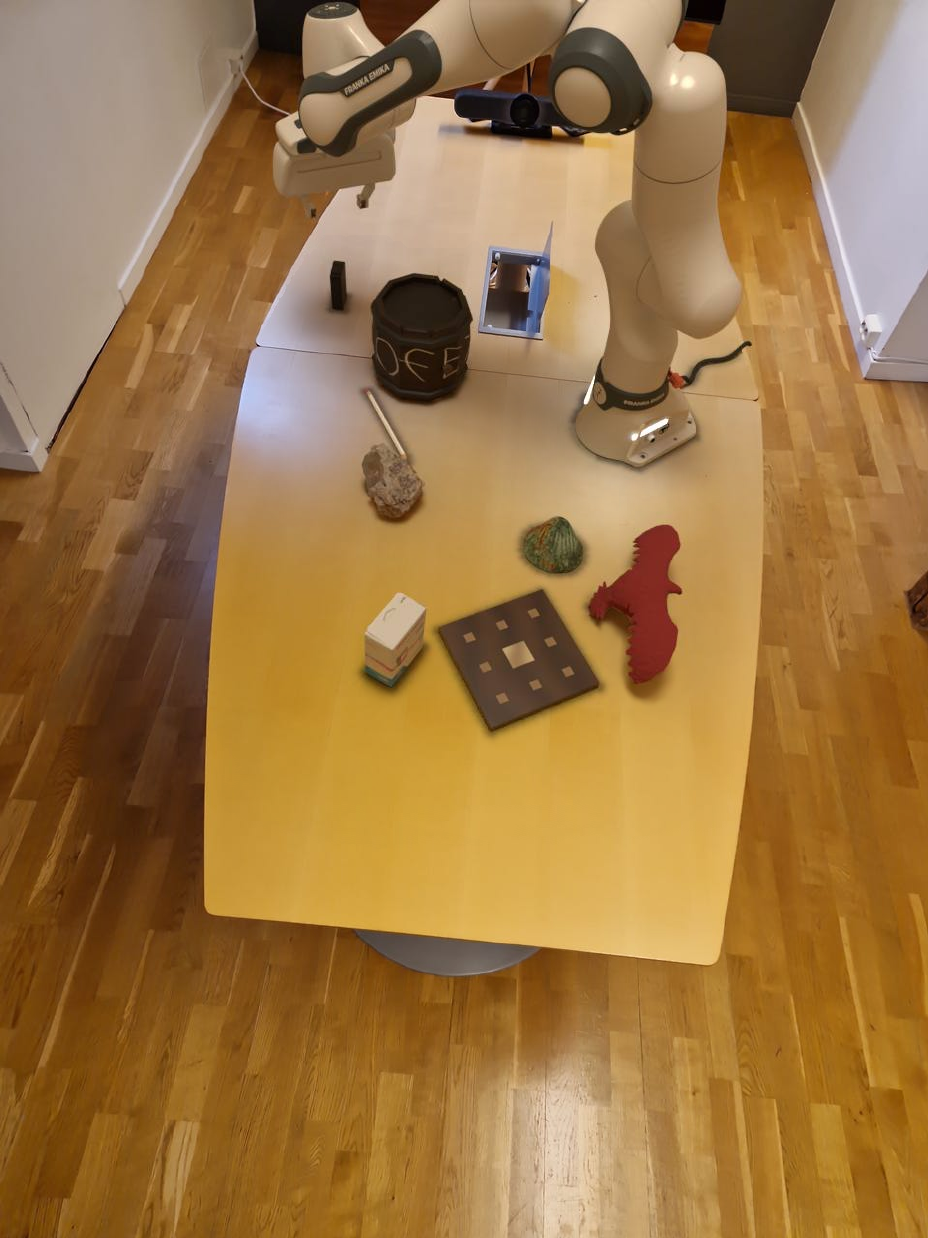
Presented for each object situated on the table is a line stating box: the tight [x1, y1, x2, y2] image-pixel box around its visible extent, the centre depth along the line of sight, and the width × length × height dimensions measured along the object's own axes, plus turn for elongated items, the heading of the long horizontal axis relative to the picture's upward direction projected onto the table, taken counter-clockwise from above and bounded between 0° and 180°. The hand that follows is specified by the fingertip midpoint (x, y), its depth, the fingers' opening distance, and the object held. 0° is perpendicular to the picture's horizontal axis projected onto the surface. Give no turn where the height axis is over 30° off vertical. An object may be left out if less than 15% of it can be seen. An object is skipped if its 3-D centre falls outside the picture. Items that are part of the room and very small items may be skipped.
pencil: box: [365, 388, 408, 459], centre depth 145 cm, size 1×19×1 cm, turn 26°
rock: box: [361, 442, 426, 519], centre depth 133 cm, size 9×12×10 cm
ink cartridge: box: [329, 260, 348, 311], centre depth 158 cm, size 5×2×8 cm, turn 175°
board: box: [437, 588, 600, 732], centre depth 122 cm, size 18×18×1 cm
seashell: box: [523, 515, 584, 574], centre depth 132 cm, size 10×4×10 cm
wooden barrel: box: [369, 272, 474, 404], centre depth 146 cm, size 18×18×16 cm
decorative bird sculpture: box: [587, 524, 683, 685], centre depth 124 cm, size 28×9×15 cm
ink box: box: [364, 591, 428, 688], centre depth 116 cm, size 9×5×12 cm, turn 148°
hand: (336, 211), depth 138 cm, fingers open, 8 cm apart
